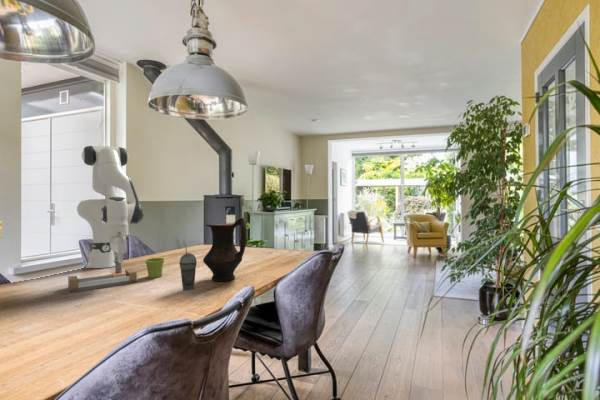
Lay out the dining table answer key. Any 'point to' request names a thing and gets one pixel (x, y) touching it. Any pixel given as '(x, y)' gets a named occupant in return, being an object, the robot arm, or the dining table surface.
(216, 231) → the jug
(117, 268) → the keeper
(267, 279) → the dining table surface
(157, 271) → the plant pot
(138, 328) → the dining table surface
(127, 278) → the track
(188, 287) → the beverage cup
